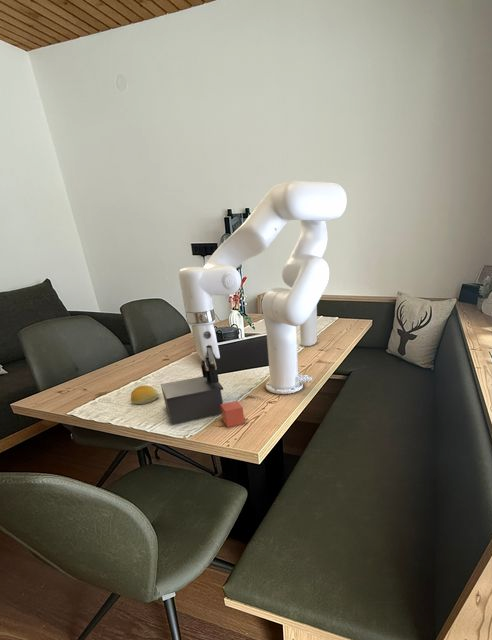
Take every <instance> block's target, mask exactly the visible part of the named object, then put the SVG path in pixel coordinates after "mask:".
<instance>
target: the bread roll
mask: <svg viewBox="0 0 492 640" xmlns="http://www.w3.org/2000/svg"><path fill="white" fill-rule="evenodd" d="M158 395H159V394H158V391H157V390H156V388H154V387H153V386H151V385H139V386H137V387H135V388H134V389H133V390H132V391H131V393H130V402H131V403H132V404H135V405H146V404H149V403H151V402H154V401H155V400H156V399H157V398H158V397H159V396H158Z"/></svg>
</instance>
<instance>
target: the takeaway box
mask: <svg viewBox="0 0 492 640" xmlns="http://www.w3.org/2000/svg"><path fill="white" fill-rule="evenodd" d="M160 388H161V391H162V395H163V400H164V405H165V408H166V411H167V414H168V417H169V419H170V422H171V425H173V426H174V425H178V424H181V423H186V422H191V421H194V420H199V419H204V418H209V417H212V416H213V417H214V416H217V415H222V413H221V406H220V404H224V403H223V396H222V390H219V391H214V392H209V393H204V394H199V395H194V396H189V397H184V398H179V399H174V400H170V401H167V400H166V398H165V395H164V392H163V390H162V387H161V386H160Z"/></svg>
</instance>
